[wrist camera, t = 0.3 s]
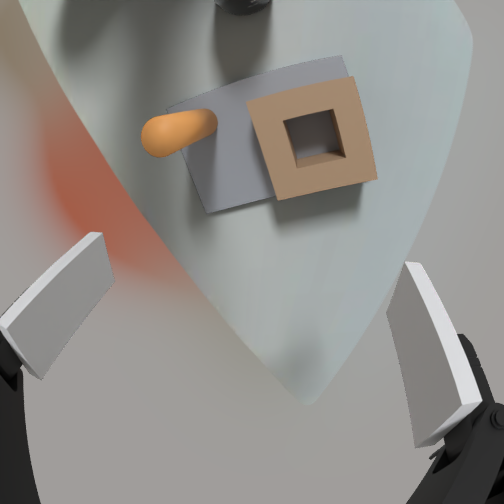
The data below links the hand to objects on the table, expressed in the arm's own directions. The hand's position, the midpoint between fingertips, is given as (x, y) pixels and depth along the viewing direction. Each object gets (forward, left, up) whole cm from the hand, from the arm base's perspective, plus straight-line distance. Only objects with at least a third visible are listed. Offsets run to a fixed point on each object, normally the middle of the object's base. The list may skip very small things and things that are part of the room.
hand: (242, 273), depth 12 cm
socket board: (-3, -1, -26) cm, 26 cm away
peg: (-7, -8, -24) cm, 26 cm away
